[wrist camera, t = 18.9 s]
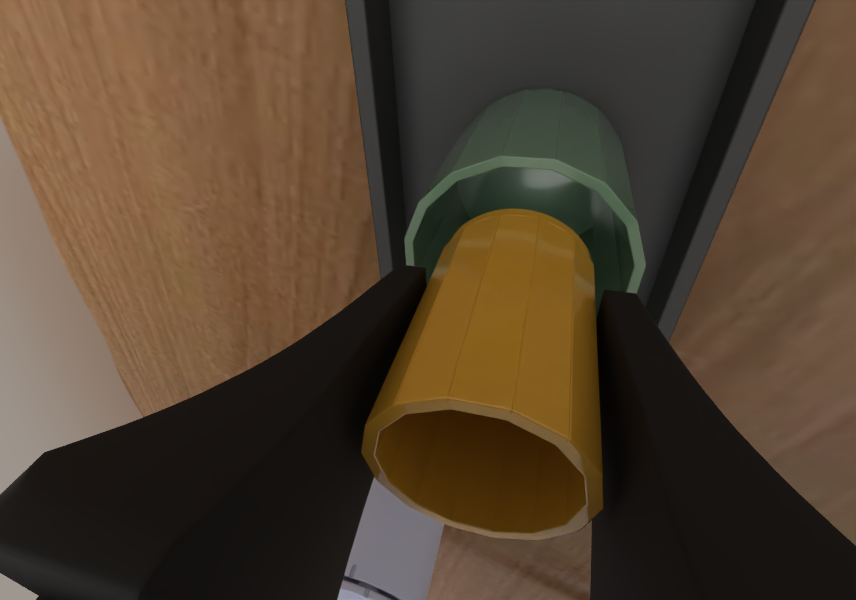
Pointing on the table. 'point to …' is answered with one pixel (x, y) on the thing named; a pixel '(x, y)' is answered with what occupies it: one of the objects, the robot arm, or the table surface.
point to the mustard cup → (497, 385)
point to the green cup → (537, 182)
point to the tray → (593, 81)
